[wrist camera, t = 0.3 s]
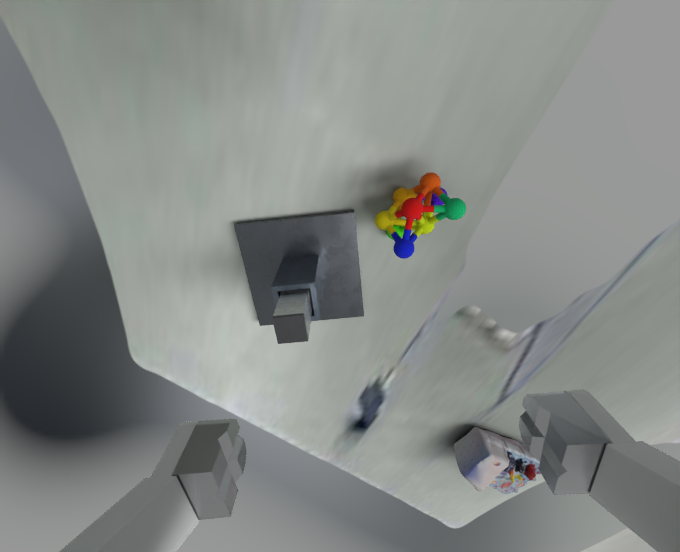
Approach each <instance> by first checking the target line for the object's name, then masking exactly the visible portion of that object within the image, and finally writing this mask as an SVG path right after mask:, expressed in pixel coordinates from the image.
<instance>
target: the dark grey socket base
mask: <svg viewBox="0 0 680 552" xmlns="http://www.w3.org/2000/svg"><path fill="white" fill-rule="evenodd" d="M234 226H235V230H236V234H237V238H238V242H239V246H240V249H241V253H242V257H243V261H244V265H245V269H246V273H247V277H248V281H249V285H250V288H251V292H252V296H253V300H254V304H255V308H256V312H257V316H258V320H259V324H260V326H262V325H273V320H272V318H273V315H274V312H275V309H276V306H277V303H278V300H279V297H280V294H281V291H287V290H297V289H307V288H310V290H311V296H312V303H313V309H312V316H311V321H317V320H327V319H338V318H349V317H359V316H364V313H363V302H362V290H361V279H360V268H359V256H358V245H357V234H356V222H355V212H354V210H353V211H344V212H334V213H325V214H315V215H306V216H297V217H287V218H278V219H268V220H259V221H250V222H240V223H236V224H235V225H234Z"/></svg>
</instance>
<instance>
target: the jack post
mask: <svg viewBox="0 0 680 552" xmlns="http://www.w3.org/2000/svg"><path fill="white" fill-rule="evenodd" d="M312 309H313V303H312V296H311V290H310V288H307V289H297V290H287V291H281V294H280V297H279V300H278V303H277V306H276V309H275V312H274V315H273V318H272V320H273V324H274V328H275V332H276V337H277V341H278V344H281V343H293V342H304V341H308V338H309V330H310V323H311V316H312Z"/></svg>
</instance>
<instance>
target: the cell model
mask: <svg viewBox="0 0 680 552" xmlns="http://www.w3.org/2000/svg"><path fill="white" fill-rule="evenodd" d="M454 450H455V455H456V460H457V464H458V467H459V469H460V472H461V474H462V475H463V476H464V477H465V478H466V479H467V480H468V481H469V482H470V483H471V484H472V485H473V486H474V487H475V489H476V490H478V491H482V490H484V489H485V488H487V487H488V486H489V485H490V486H491V487H493V488H494V489H498V490H499V491H501V492H502V493H504V494H508V493H511V492H516V493H517V492H518V488H519V487H522V486H524V485H525V484H526V483H527V482H528V481H530V480H532V481H536V478H535V476H536V474H541V472H540V471H539V463H540V460H539V459H537V458H536V457H534V456H533V455H531V454H530V453H529V452H528V450H527V448H526V446H524V445H522V444H520V443H519V442H518V441H516V440H514V439H511V438H507V437H502V436H499V435H498V434H496V433H493V432H491V431H488V430H482V429H480V428H478V427H474V428H473V429H472V430H471V431H470V432H469V433H468V434H466V435H465V436H464V437H463V438H461V439H460V440H458V441H457V442H456V443H455V444H454Z"/></svg>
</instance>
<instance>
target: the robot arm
mask: <svg viewBox="0 0 680 552" xmlns="http://www.w3.org/2000/svg"><path fill="white" fill-rule="evenodd" d="M522 405H523V407H524V408H525V410H526V411H525V412H524V413H523V414H522V415H521V416H520V422H519V428H520V433H521V437H522V440H523V442H524V445H525V446H526V448H527V450H528V452H529V453H530V454H531V455H533V456H534V457H536V458H537V459H539V460H540V463H539V471H540V472H541V474H542V476H543V477H544V479H545V481H546V482H547V484H548V486H549V487H550V489H551V491H552V492H553V494H554V495H559V494H585V493H590V494H589V496H591V497H592V498H593V499H594V500H595V501H597V502H598V503H599V504H600V505H601V506H603V507H604V508H605V509H606V510H608V511H609V512H610V513H611V514H612V515H614V516H615V517H616V518H617V519H619V520H620V521H621V522H622V523H624V524H625V525H626V526H627V527H628V528H630V529H631V530H632V531H633V532H634V533H636V534H637V535H638V536H639V537H640V538H642V539H643V540H644V541H645V542H647V543H648V544H649V545H650V546H651V547H653V548H654V549H655V550H656V551H658V552H680V461H678V460H677V459H674V458H673V457H671V456H669V455H667V454H665V453H663V452H661V451H660V450H658V449H656V448H654V447H652V446H650V445H648V444H647V443H645V442H643V441H639V442H636V441H635V440H634V439H633V438H632V437H631V436H630V435H629V434H628V433H627V432H626V431H625V429H624V428H623V427H622V426H621V425H620V424H619V423H618V422H617V421H616V420H615V419H614V418H613V417H612V416H611V415H610V414H609V413H608V412H607V411H606V410H605V408H604V407H603V406H602V405H601V404H600V403H599V402H598V401H597V400H596V399H595V398H594V397H593V396H592V395H591V394H590V393H589V392H588V391H586V390H584V389H583V390H572V391H564V392H562V391H558V392H548V393H537V394H527V395H526V396H525V397H524V398H523V403H522ZM239 428H240V427H239V425H238V422H237V420H236V419H224V420H205V421H192V422H183V423H182V424H181V425H180V426H178V428H177V430H176V431H175V433H174V435H173V437H172V439H171V441H170V443H169V444H168V446H167V448H166V450H165V452H164V454H163V455H162V457H161V459H160V461H159V463H158V465H157V467H156V469H155V470H154V472H153V474H152V476H151V478H145V479H144V480H142V481H141V482H140V483H139V484H138V485H137V486H136V487H134V488H133V489H132V490H131V491H130V492H128V493H127V494H126V495H125V496H124V497H123V498H121V499H120V500H119V501H118V502H117V503H116V504H114V505H113V506H112V507H111V508H110V509H109V510H107V511H106V512H105V513H104V514H103V515H102V516H100V517H99V518H98V519H97V520H96V521H95V522H94V523H92V524H91V525H90V526H89V527H88V528H86V529H85V530H84V531H83V532H82V533H81V534H79V535H78V536H77V537H76V538H75V539H74V540H72V541H71V542H70V543H69V544H68V545H67V546H65V547H64V548H63V549H62V550H61V551H60V552H176V551H177V550H178V548H179V547H180V546H181V545H182V543H183V542H184V541H185V539H186V538H187V537H188V536H189V534H190V533H191V532H192V531H193V529H194V528H195V527H196V525H197V524H198V523H199V520H202V519H212V518H222V517H231V514H232V510H233V506H234V503H235V499H236V496H237V492H238V489H237V486H236V484H235V482H236V481H237V480H238V479H239V477H240V476H241V475H242V474H243V470H244V467H245V460H246V446H245V442H244V439H243V438H242V437H241V436H239V435H238V431H239Z"/></svg>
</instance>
